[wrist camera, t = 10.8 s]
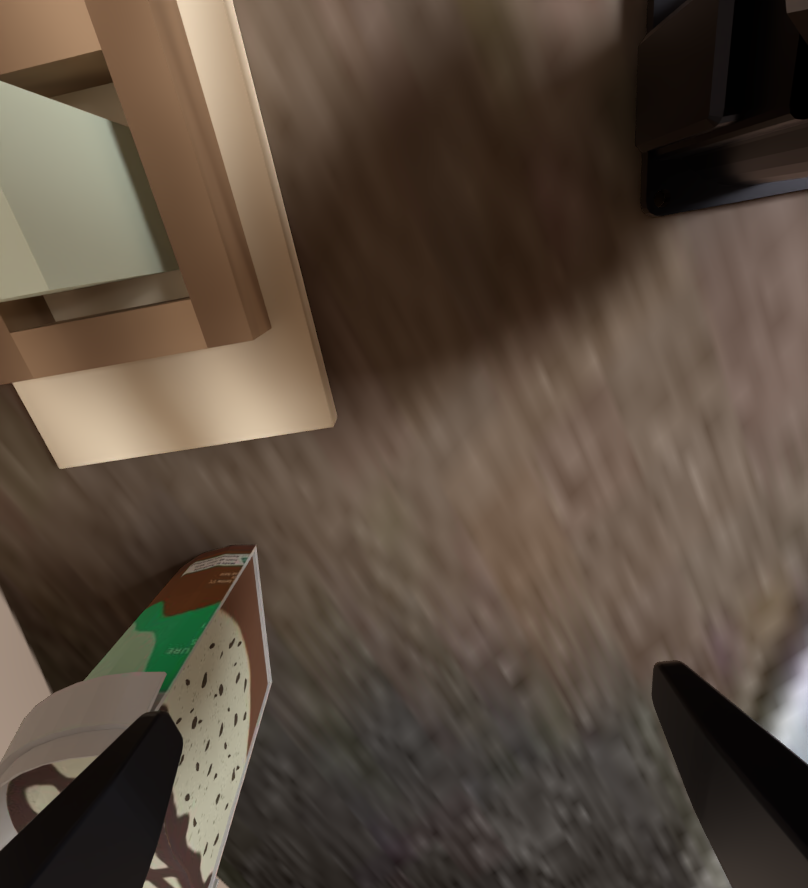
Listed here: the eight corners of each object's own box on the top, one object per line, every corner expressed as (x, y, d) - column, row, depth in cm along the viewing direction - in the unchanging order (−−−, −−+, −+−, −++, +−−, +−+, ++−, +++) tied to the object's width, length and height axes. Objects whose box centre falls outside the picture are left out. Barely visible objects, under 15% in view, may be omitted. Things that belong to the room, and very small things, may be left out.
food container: (117, 510, 21) (-117, 729, 12) (253, 517, 21) (125, 741, 12) (165, 694, 26) (29, 944, 17) (274, 700, 26) (196, 953, 17)
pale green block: (130, 128, 14) (-61, 58, 8) (180, 269, 15) (49, 289, 10) (9, 155, 14) (-250, 106, 9) (70, 290, 16) (-114, 322, 10)
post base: (180, -207, 11) (106, -344, 9) (337, 417, 18) (324, 449, 16) (-213, -89, 13) (-388, -178, 10) (76, 458, 20) (21, 494, 17)
